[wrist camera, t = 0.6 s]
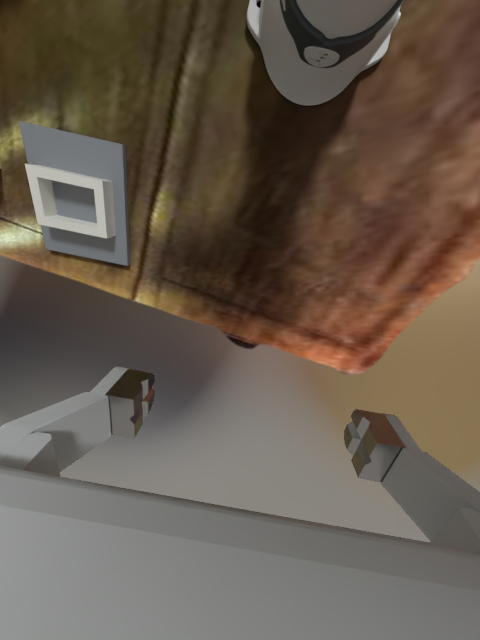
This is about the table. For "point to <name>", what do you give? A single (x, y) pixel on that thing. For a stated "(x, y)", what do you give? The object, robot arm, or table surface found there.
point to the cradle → (79, 192)
